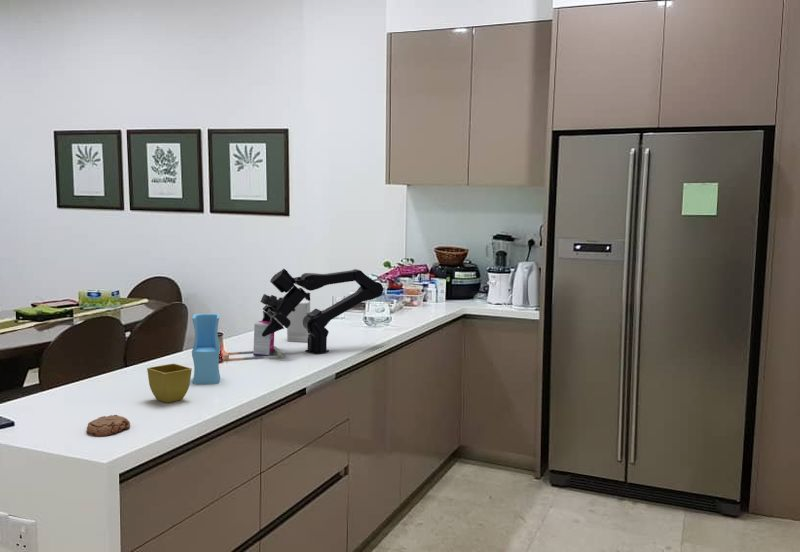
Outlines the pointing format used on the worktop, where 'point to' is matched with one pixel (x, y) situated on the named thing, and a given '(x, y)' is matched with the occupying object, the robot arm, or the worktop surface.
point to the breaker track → (226, 357)
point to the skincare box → (298, 323)
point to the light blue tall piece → (206, 349)
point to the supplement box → (262, 340)
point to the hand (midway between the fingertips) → (259, 333)
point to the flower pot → (169, 381)
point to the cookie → (107, 425)
